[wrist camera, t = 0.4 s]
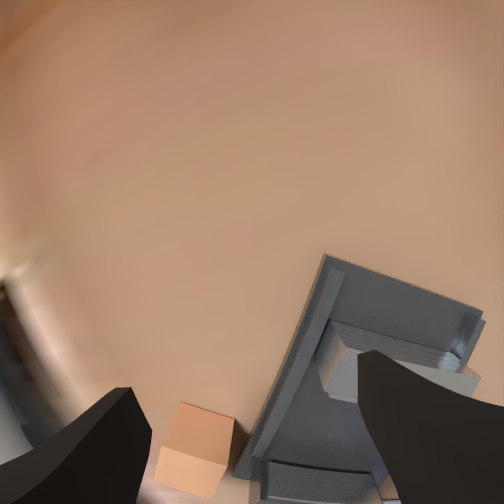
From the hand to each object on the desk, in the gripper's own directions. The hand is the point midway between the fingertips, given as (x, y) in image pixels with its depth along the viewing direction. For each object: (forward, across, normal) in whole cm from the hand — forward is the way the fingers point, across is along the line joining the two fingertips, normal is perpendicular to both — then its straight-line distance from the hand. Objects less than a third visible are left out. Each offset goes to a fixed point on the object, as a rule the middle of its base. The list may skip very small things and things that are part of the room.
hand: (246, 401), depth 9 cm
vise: (+9, -6, +10) cm, 15 cm away
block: (+9, +5, +10) cm, 15 cm away
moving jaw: (+8, -8, +6) cm, 13 cm away
